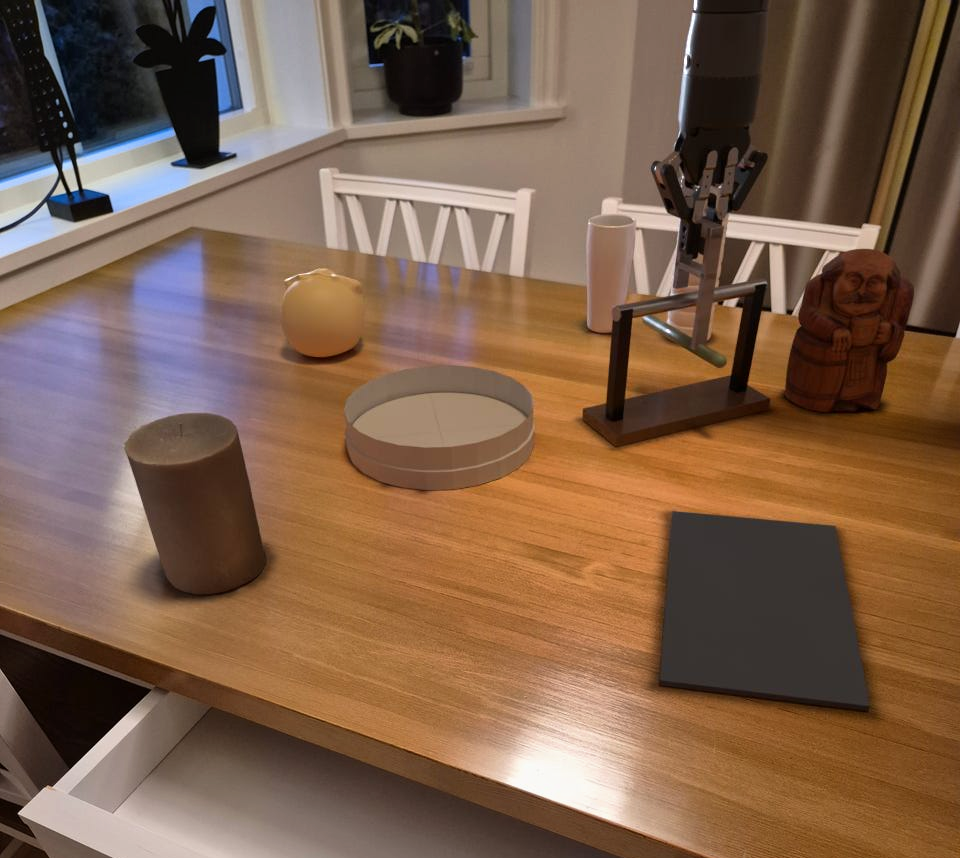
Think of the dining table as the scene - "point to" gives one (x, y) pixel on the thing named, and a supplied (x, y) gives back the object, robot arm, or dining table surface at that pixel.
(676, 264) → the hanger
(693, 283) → the water bottle
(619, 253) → the drinking glass
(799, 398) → the wooden figurine
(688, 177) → the robot arm
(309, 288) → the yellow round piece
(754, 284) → the rail stand
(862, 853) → the dining table surface
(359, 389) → the dish
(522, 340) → the dining table surface
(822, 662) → the mat
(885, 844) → the dining table surface
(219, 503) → the pillar candle
